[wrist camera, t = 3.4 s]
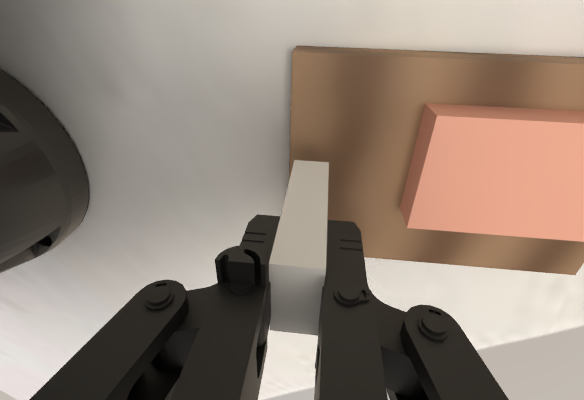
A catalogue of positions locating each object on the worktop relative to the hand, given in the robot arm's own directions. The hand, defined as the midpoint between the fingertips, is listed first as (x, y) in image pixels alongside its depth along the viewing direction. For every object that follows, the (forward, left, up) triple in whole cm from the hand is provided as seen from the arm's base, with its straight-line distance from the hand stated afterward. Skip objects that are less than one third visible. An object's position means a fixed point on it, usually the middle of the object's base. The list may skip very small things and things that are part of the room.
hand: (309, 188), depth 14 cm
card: (+10, 0, -4) cm, 10 cm away
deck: (+8, -1, -6) cm, 10 cm away
